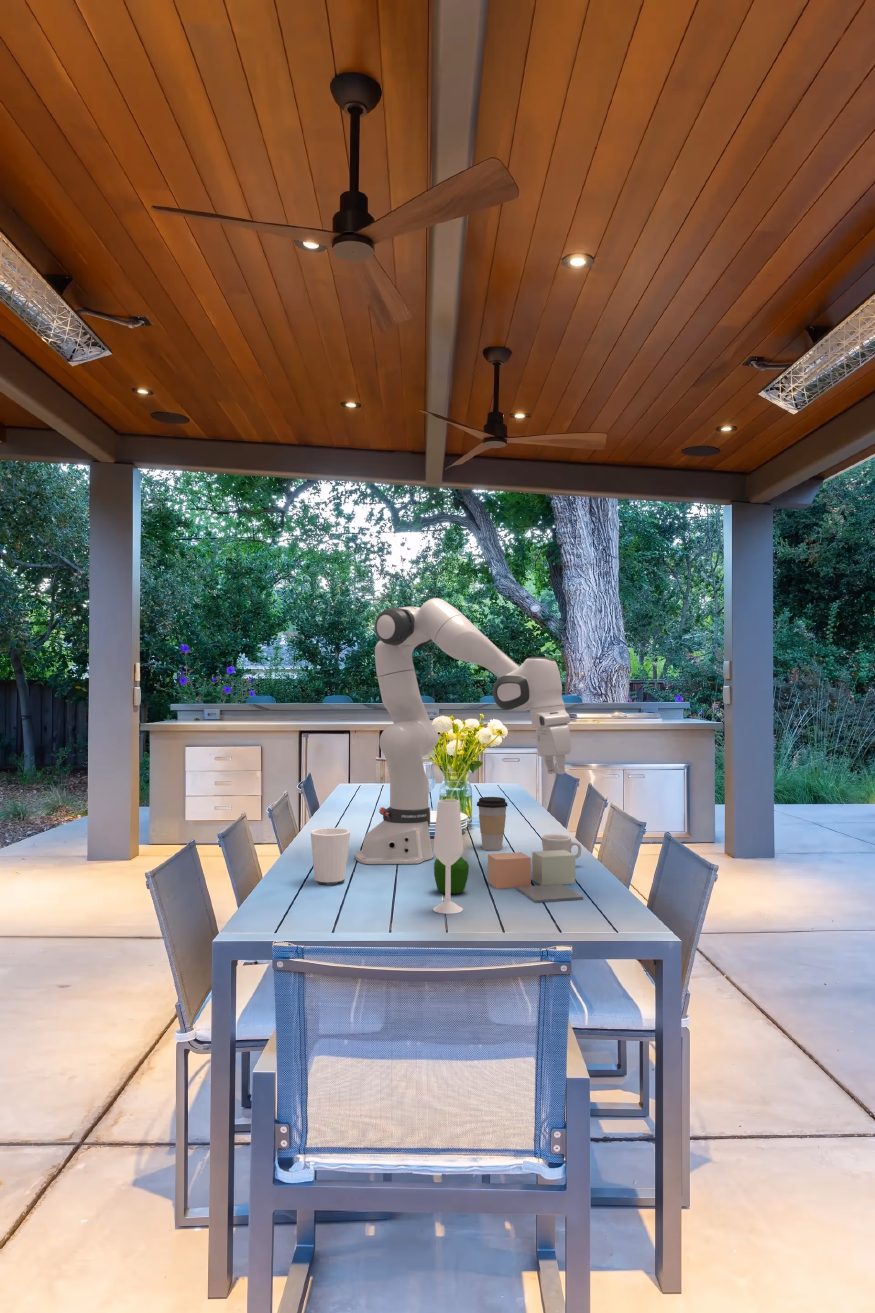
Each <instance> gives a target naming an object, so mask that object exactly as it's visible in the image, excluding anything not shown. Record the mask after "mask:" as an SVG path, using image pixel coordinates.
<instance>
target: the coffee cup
mask: <svg viewBox="0 0 875 1313" xmlns="http://www.w3.org/2000/svg"><path fill="white" fill-rule="evenodd" d="M476 806H477V807H478V813H479V814H478V820H479V831H480V832H479V833H480V834H481V835H480V836H481V845H482V846H481V847H482V850H484V851H489V850H490V852H491V851H492V852H493V851H494V852H495V851H496V852H497V851H501V850H502V849H503V841H504V833H505V825H506V817H507V815H506V813H507V807H508V806H509V805H508V802H507V801H506V798H504V797H502V796H501V797H500V796H499V797H498V796H482V797H480V798H478V801H476Z"/></svg>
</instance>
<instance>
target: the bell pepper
mask: <svg viewBox="0 0 875 1313" xmlns="http://www.w3.org/2000/svg"><path fill="white" fill-rule="evenodd" d="M433 864H434V865H433V874H434V875H433V876H434V880H435V881H434V882H435V885H436V889H437V890H438V891H439V892H440V893H443V894H445V875H446V866H445V865H444V864H442V863H441V862H440V861H439V860H438V859H437V858H435V861H434V863H433ZM469 867H470V865H469V863H468V861H467V860H466V859H464V857H462V856H461V857H460V858H459V859H458V860H457V861H456V862H455V863H454V864H453V865H451V894H460V893H463V892H464V890H465V889H466V885H467V882H468V878H469V872H470V869H469Z"/></svg>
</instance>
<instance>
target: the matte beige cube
mask: <svg viewBox="0 0 875 1313" xmlns="http://www.w3.org/2000/svg"><path fill="white" fill-rule="evenodd" d="M531 852H532V853H531V855H532V857H531V880H532V879H533V881H534V882H535V883H537V884H538V885H539V886H540V885H555V884H563V885H575V884H576V859H575V855H576V854H574V853H572V852H571V853H570V852H568V851H566V850H554V851H543V850H539V851H538V850H537V851H531Z"/></svg>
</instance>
